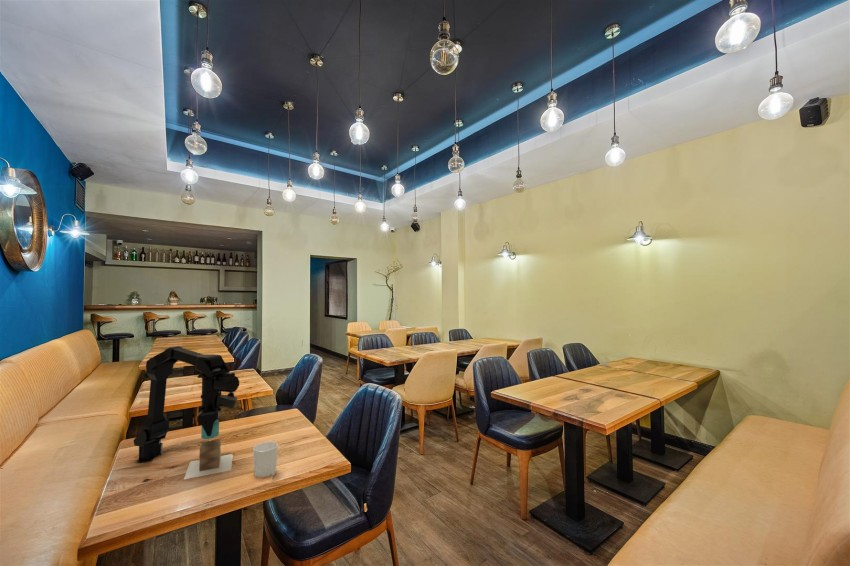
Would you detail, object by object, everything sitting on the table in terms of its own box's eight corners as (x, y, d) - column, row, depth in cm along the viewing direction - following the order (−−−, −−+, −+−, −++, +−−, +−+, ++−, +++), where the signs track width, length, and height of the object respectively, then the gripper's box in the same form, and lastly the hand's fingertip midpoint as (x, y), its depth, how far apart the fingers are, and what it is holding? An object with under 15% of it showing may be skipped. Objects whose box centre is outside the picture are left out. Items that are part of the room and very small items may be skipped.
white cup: (270, 467, 128) (271, 439, 128) (281, 474, 123) (281, 445, 123) (248, 475, 122) (249, 447, 122) (259, 483, 117) (259, 453, 117)
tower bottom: (199, 471, 123) (199, 459, 123) (201, 463, 128) (201, 452, 128) (218, 467, 125) (219, 456, 126) (220, 460, 131) (220, 449, 131)
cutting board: (183, 482, 117) (183, 479, 117) (190, 464, 130) (190, 461, 130) (230, 472, 124) (230, 470, 124) (232, 456, 136) (233, 453, 136)
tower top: (199, 459, 123) (199, 448, 123) (201, 452, 128) (202, 442, 128) (219, 456, 126) (219, 445, 126) (220, 449, 131) (220, 439, 131)
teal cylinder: (200, 440, 123) (200, 425, 123) (202, 434, 128) (202, 420, 128) (218, 437, 126) (218, 423, 126) (219, 431, 131) (219, 418, 131)
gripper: (234, 393, 123) (233, 438, 122) (236, 381, 139) (236, 421, 139) (197, 398, 118) (196, 444, 117) (204, 385, 134) (203, 425, 134)
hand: (210, 433), depth 127 cm, fingers closed on teal cylinder, 5 cm apart
